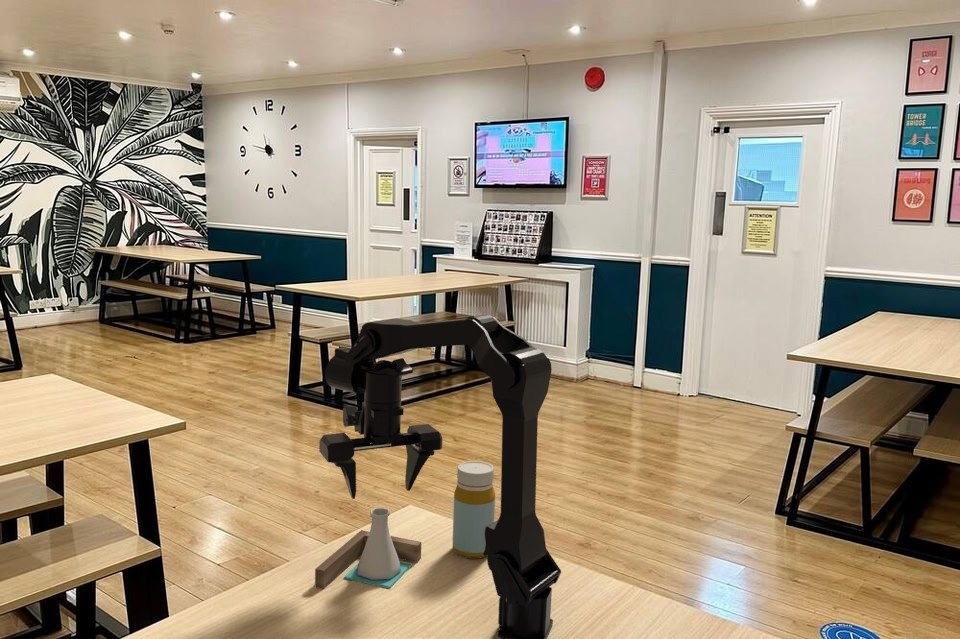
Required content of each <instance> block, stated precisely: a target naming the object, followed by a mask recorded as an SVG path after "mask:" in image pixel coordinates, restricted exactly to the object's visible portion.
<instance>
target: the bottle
mask: <svg viewBox="0 0 960 639" xmlns="http://www.w3.org/2000/svg"><path fill="white" fill-rule="evenodd" d="M494 475H495V467H494V466H493V464H491V463H489V462H485V461H479V460H469V461H464V462H462V463H460V464H458V466H457V473H456V476H457V477H456V479H457V481H456V482H457V483H456V487H455V489H454V494H453V519H452V520H453V521H452V549H453V550H454V552H455V553H456V554H457V555H458V556H460V557H463V558H465V559H481V558H485V557H487V555H486V556H484V555H483V553H484V551H485V546H486V541H485V528H486V527H487V526H488V525H490V524H492V523H494V522H495V516H496V515H495V513H496V492H495V489H494Z"/></svg>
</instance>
